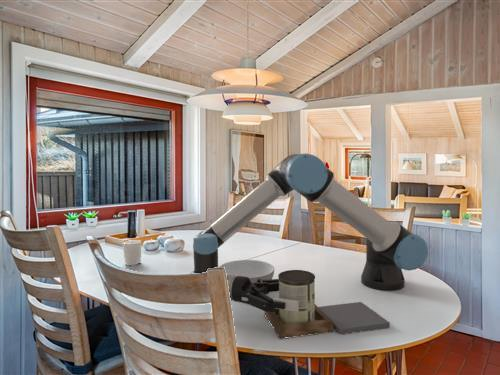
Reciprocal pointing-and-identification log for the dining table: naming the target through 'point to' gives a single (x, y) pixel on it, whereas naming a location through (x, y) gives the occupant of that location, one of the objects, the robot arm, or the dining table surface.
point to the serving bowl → (250, 269)
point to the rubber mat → (354, 318)
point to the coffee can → (297, 295)
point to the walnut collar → (300, 324)
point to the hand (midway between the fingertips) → (304, 297)
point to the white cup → (132, 251)
